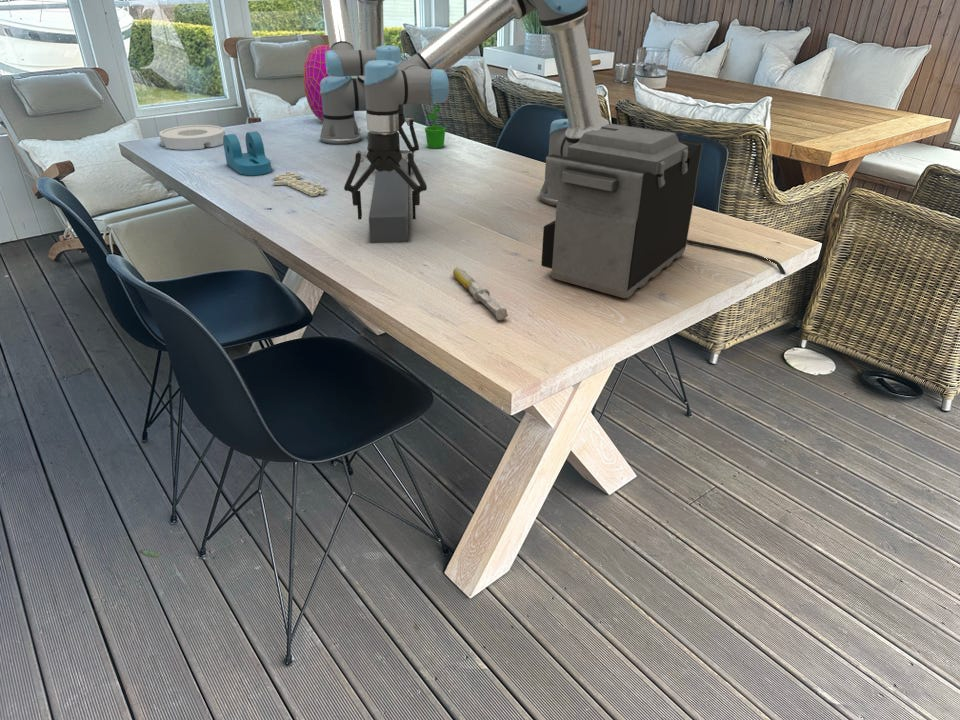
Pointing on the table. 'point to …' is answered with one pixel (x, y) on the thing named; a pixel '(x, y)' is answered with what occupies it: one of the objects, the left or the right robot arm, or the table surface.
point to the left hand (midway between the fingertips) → (394, 172)
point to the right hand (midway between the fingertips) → (387, 217)
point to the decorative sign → (299, 184)
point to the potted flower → (435, 132)
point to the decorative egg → (315, 78)
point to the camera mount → (246, 154)
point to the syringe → (479, 293)
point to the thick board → (389, 206)
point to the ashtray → (192, 137)
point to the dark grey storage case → (619, 207)
